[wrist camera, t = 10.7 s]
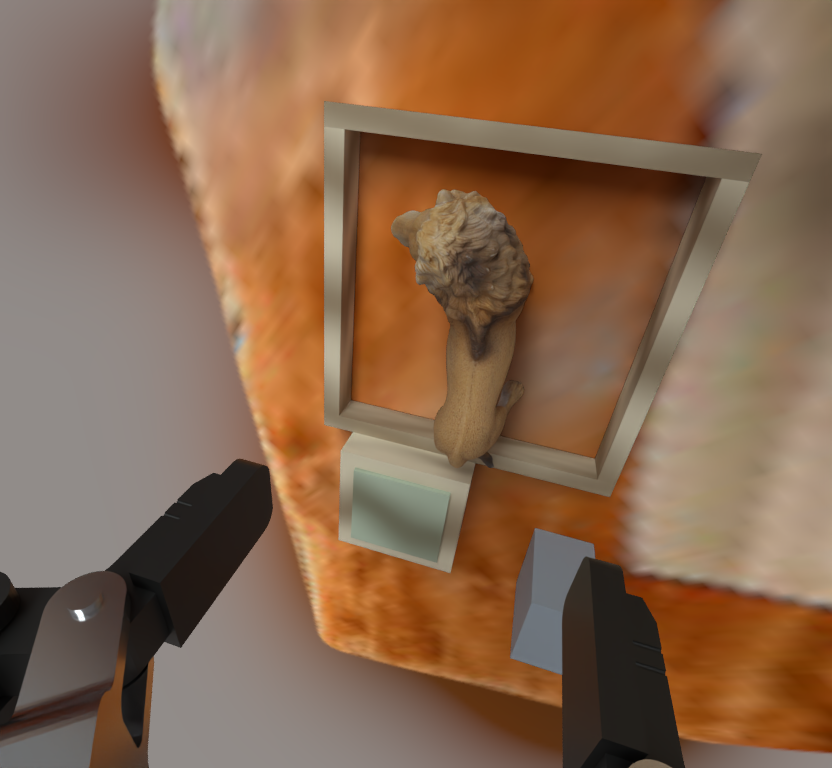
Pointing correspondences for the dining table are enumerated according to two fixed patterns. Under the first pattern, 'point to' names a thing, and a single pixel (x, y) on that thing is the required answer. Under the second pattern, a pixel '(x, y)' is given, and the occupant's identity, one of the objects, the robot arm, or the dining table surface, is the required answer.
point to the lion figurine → (471, 313)
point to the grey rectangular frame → (448, 486)
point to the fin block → (545, 597)
